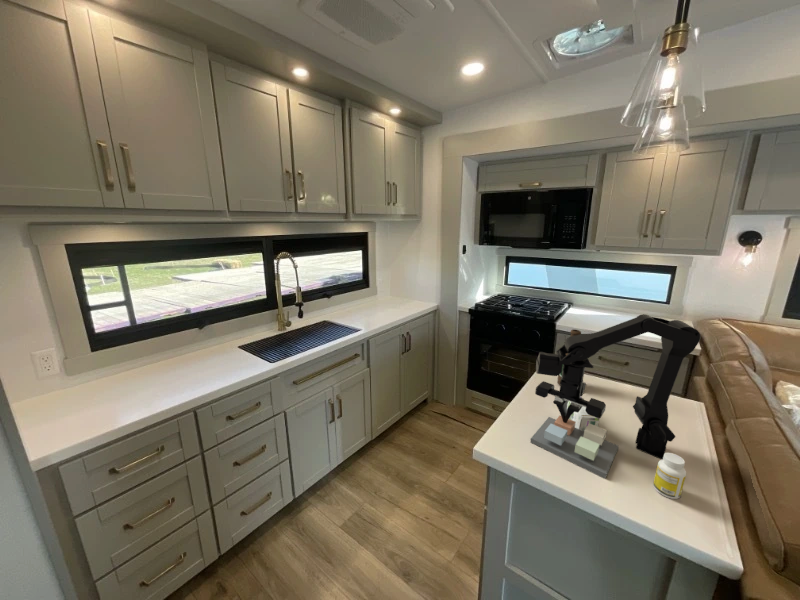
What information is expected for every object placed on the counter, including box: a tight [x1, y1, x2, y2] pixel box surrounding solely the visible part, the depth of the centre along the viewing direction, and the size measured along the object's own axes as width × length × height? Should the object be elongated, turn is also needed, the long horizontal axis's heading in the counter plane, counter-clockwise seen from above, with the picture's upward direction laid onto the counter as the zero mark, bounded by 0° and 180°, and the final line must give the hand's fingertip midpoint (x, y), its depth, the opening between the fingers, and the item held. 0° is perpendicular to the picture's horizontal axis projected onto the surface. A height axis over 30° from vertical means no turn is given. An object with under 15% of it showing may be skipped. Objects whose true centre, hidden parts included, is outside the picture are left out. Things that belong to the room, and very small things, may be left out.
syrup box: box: [567, 396, 600, 431], centre depth 108 cm, size 6×6×14 cm
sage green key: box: [574, 436, 600, 461], centre depth 89 cm, size 5×5×2 cm
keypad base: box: [529, 416, 619, 479], centre depth 96 cm, size 20×15×2 cm
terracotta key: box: [554, 415, 576, 436], centre depth 101 cm, size 5×5×2 cm
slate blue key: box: [544, 424, 567, 446], centre depth 95 cm, size 5×5×2 cm
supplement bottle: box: [652, 452, 687, 500], centre depth 79 cm, size 5×5×10 cm
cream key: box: [583, 423, 608, 445], centre depth 95 cm, size 5×5×2 cm
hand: (565, 422), depth 101 cm, fingers closed, pressing on terracotta key
